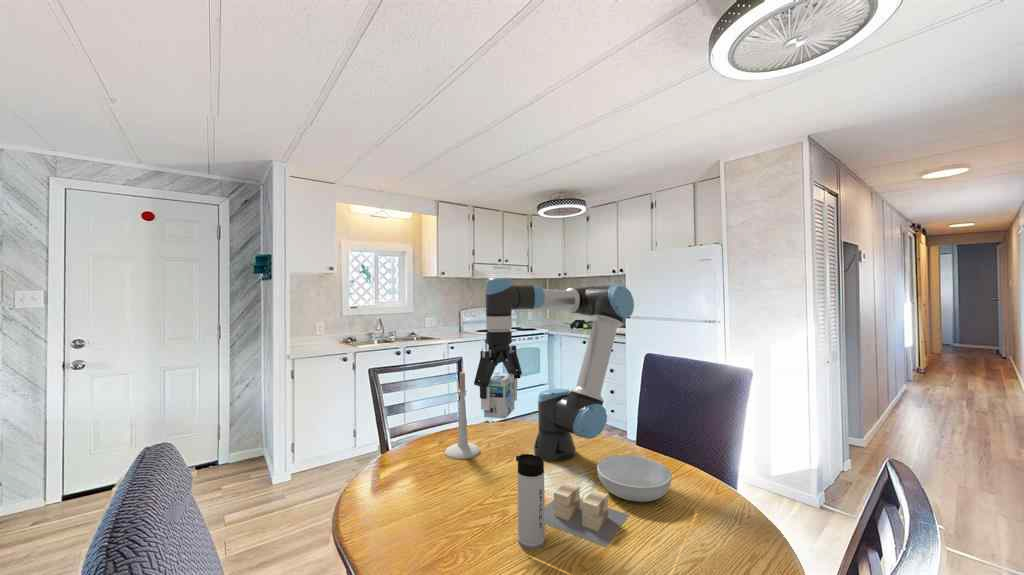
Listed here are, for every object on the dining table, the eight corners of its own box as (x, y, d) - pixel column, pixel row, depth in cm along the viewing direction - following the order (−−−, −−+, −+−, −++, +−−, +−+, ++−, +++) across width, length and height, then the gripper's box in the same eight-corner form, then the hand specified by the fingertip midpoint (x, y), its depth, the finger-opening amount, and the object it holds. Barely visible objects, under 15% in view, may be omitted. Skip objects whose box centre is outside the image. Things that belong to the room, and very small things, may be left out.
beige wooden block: (566, 503, 107) (566, 481, 107) (579, 508, 105) (579, 485, 105) (554, 515, 102) (553, 492, 102) (567, 520, 99) (567, 496, 99)
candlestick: (482, 457, 140) (481, 373, 141) (446, 460, 137) (446, 375, 138) (477, 444, 153) (476, 367, 153) (444, 447, 150) (444, 369, 150)
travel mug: (515, 535, 94) (514, 452, 94) (542, 533, 95) (541, 450, 95) (518, 552, 88) (517, 463, 88) (547, 550, 88) (546, 461, 89)
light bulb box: (506, 419, 108) (505, 380, 108) (483, 417, 109) (482, 379, 110) (515, 408, 118) (514, 372, 118) (493, 407, 120) (493, 372, 120)
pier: (593, 512, 103) (593, 490, 103) (608, 517, 100) (607, 494, 101) (582, 525, 97) (581, 501, 97) (597, 531, 95) (597, 506, 95)
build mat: (561, 494, 113) (561, 493, 113) (629, 516, 102) (629, 514, 102) (531, 520, 100) (531, 518, 100) (606, 548, 89) (606, 547, 89)
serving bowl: (583, 494, 114) (583, 470, 114) (618, 470, 129) (617, 449, 129) (653, 521, 99) (653, 494, 100) (683, 491, 115) (682, 467, 115)
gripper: (513, 327, 126) (514, 394, 126) (460, 333, 107) (461, 412, 106) (532, 328, 121) (533, 397, 121) (480, 334, 102) (481, 417, 102)
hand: (499, 404), depth 114 cm, fingers closed on light bulb box, 12 cm apart
